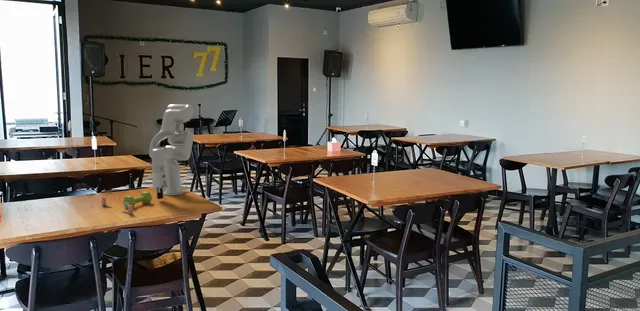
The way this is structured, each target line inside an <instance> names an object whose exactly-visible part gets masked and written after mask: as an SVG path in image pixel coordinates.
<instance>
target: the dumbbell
mask: <svg viewBox="0 0 640 311" xmlns="http://www.w3.org/2000/svg"><path fill="white" fill-rule="evenodd" d="M152 199H153V196H152V194H151V193H150V191H142V192H141V194H140V195H139V196H137V197H133V195H125V196H124V198H123V205H124V208H126V209H128V205H133V209H134V207H135V206H136V204H138V203H142V204H145V205H150V204H151V203H152V201H153V200H152Z"/></svg>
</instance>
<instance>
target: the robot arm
mask: <svg viewBox="0 0 640 311" xmlns="http://www.w3.org/2000/svg"><path fill="white" fill-rule="evenodd" d="M193 115H194V107H193V106H192V104H189V103H188V104H187V103H186V104H184V103H183V104H182V103H181V104H180V103H173V104H168V106H167V107H166V110H165V111H164V113H163V117H162V122H161V127H160V130H159V132H158V133H156V134H155V135H154V136H153V137H152V139H151V141H150V145H149V150H148V155H149V157H150V158H151V167H152V168H151V169H152V174H151V175H152V176H151V179H152V186H153V188H154V189H155V190H156V191H155V192H156V198H157V199H158V200H161V199H164V196H179V195H182V194H184V190H187V189H188V185H184V186H183V185H182V184H181V183H182V182H181V180H182V179H181V166H180V164H179V162H178V161H188V160H190V158H191V154H192V148H193V144H194V143H193V142H194V134H193V133H192V132H191V131H189V130H184V126H185V125H184V123H187V121H189V119H191V117H192V116H193ZM166 139H167V143H169V145H165V146H158V145H159V144H160V142H162V141H164V140H166Z"/></svg>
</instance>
